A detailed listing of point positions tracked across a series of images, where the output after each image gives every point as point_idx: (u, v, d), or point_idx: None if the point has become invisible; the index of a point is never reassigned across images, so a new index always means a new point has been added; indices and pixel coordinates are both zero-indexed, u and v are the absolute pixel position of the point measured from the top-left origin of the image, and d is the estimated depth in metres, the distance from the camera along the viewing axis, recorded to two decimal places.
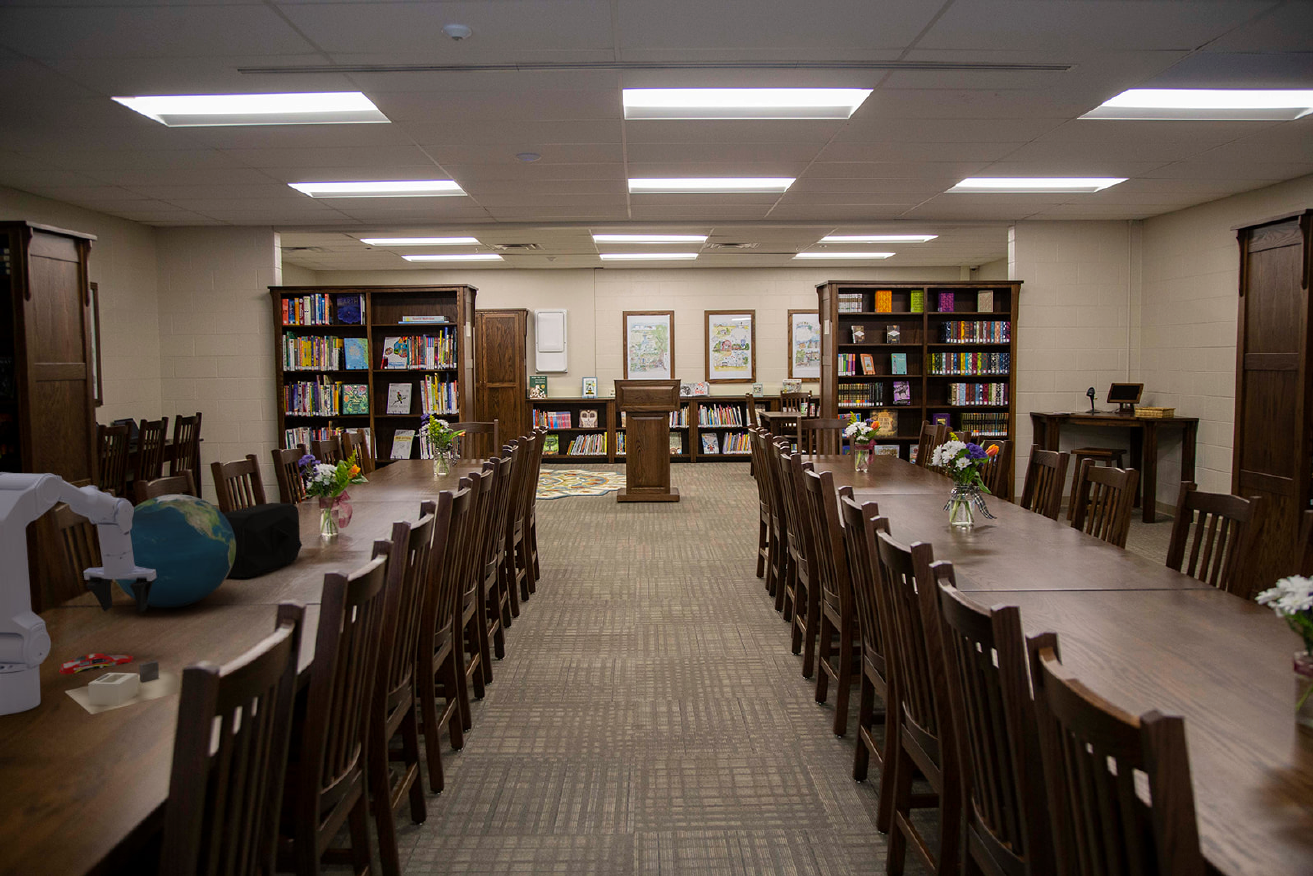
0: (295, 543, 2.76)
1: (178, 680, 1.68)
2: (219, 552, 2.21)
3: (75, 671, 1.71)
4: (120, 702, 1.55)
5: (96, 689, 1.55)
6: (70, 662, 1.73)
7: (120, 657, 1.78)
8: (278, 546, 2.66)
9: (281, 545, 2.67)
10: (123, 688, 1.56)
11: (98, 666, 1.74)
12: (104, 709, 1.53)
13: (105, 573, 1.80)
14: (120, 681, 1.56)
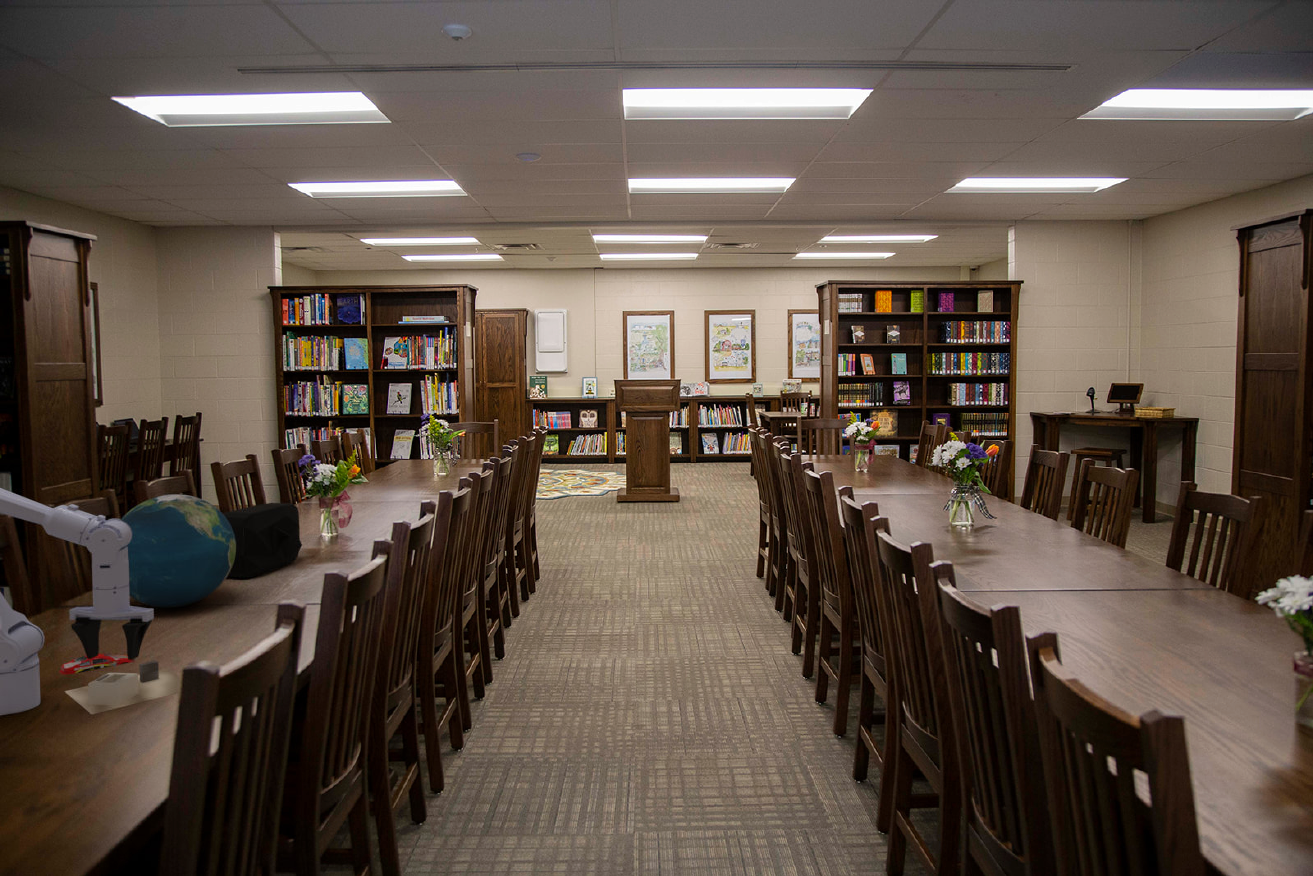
0: (295, 543, 2.76)
1: (178, 680, 1.68)
2: (219, 552, 2.21)
3: (76, 671, 1.71)
4: (120, 702, 1.55)
5: (96, 689, 1.55)
6: (70, 662, 1.73)
7: (120, 657, 1.78)
8: (278, 546, 2.66)
9: (281, 545, 2.67)
10: (123, 688, 1.56)
11: (99, 666, 1.74)
12: (104, 709, 1.53)
13: (95, 611, 1.54)
14: (120, 681, 1.56)
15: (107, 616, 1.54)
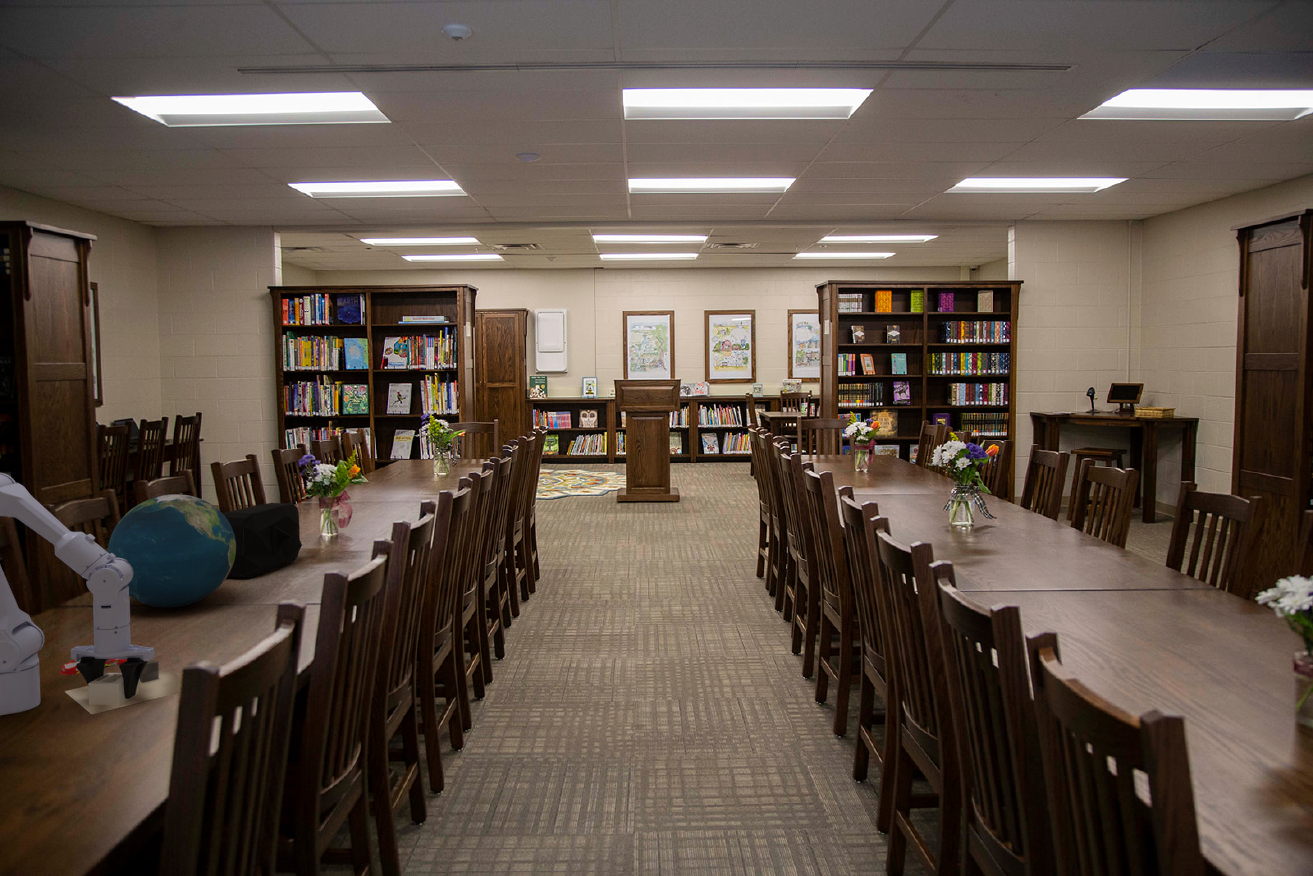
0: (295, 543, 2.76)
1: (178, 680, 1.68)
2: (219, 552, 2.21)
3: (77, 671, 1.71)
4: (120, 702, 1.55)
5: (96, 689, 1.55)
6: (71, 663, 1.72)
7: None
8: (278, 546, 2.66)
9: (281, 545, 2.67)
10: (123, 688, 1.56)
11: None
12: (104, 709, 1.53)
13: (96, 651, 1.55)
14: (120, 681, 1.56)
15: (108, 656, 1.54)
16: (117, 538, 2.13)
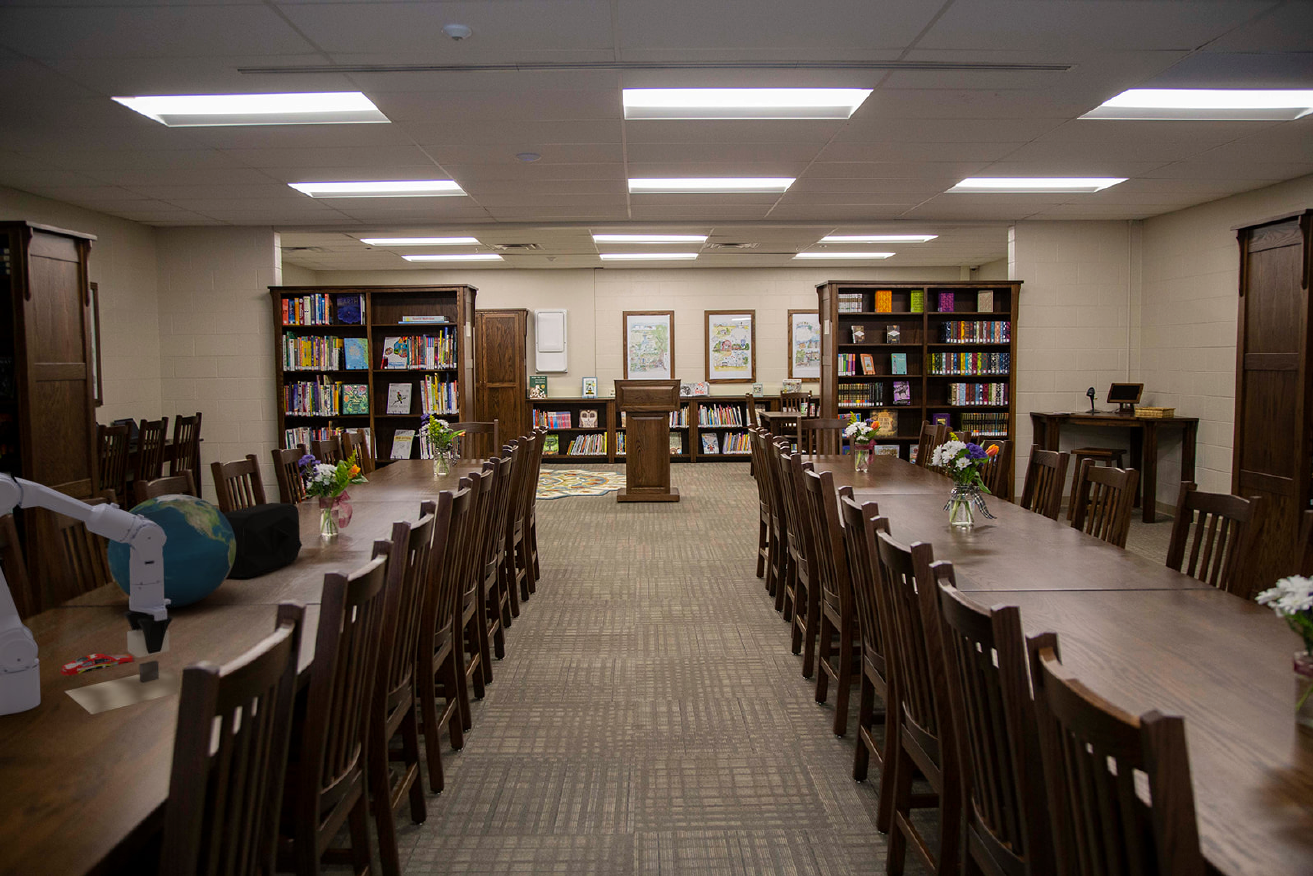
0: (295, 543, 2.76)
1: (178, 680, 1.68)
2: (219, 552, 2.21)
3: (78, 672, 1.71)
4: (140, 655, 1.64)
5: (129, 638, 1.66)
6: (71, 663, 1.72)
7: (120, 656, 1.78)
8: (278, 546, 2.66)
9: (281, 545, 2.67)
10: None
11: (101, 666, 1.74)
12: (104, 709, 1.53)
13: None
14: None
15: (133, 609, 1.64)
16: None
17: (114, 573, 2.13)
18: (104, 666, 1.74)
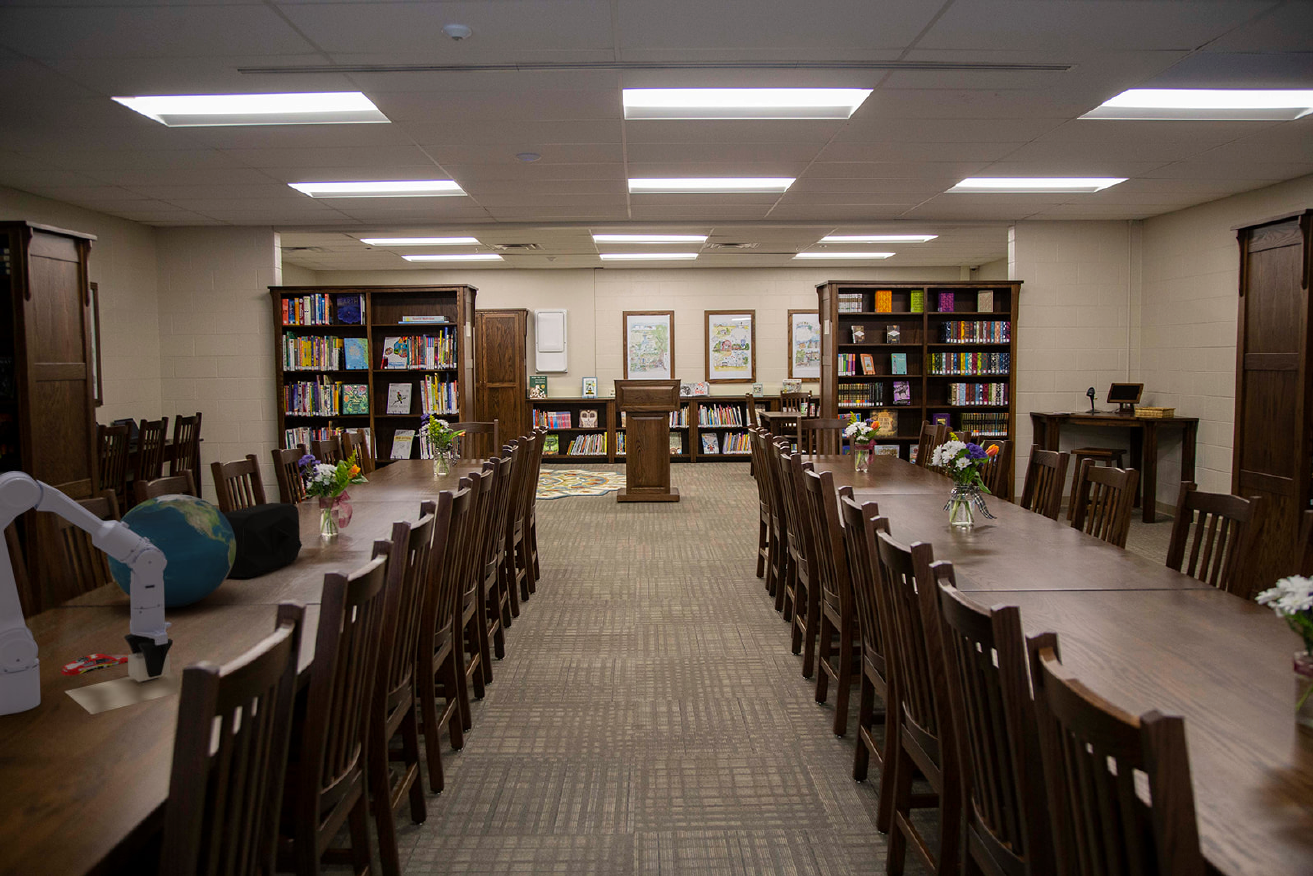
0: (295, 543, 2.76)
1: (178, 680, 1.68)
2: (219, 552, 2.21)
3: (80, 672, 1.71)
4: (140, 679, 1.64)
5: (130, 662, 1.66)
6: (72, 663, 1.72)
7: (120, 656, 1.79)
8: (278, 546, 2.66)
9: (281, 545, 2.67)
10: None
11: (102, 666, 1.74)
12: (104, 709, 1.53)
13: None
14: (144, 659, 1.65)
15: (134, 633, 1.64)
16: None
17: (114, 573, 2.13)
18: (105, 666, 1.74)
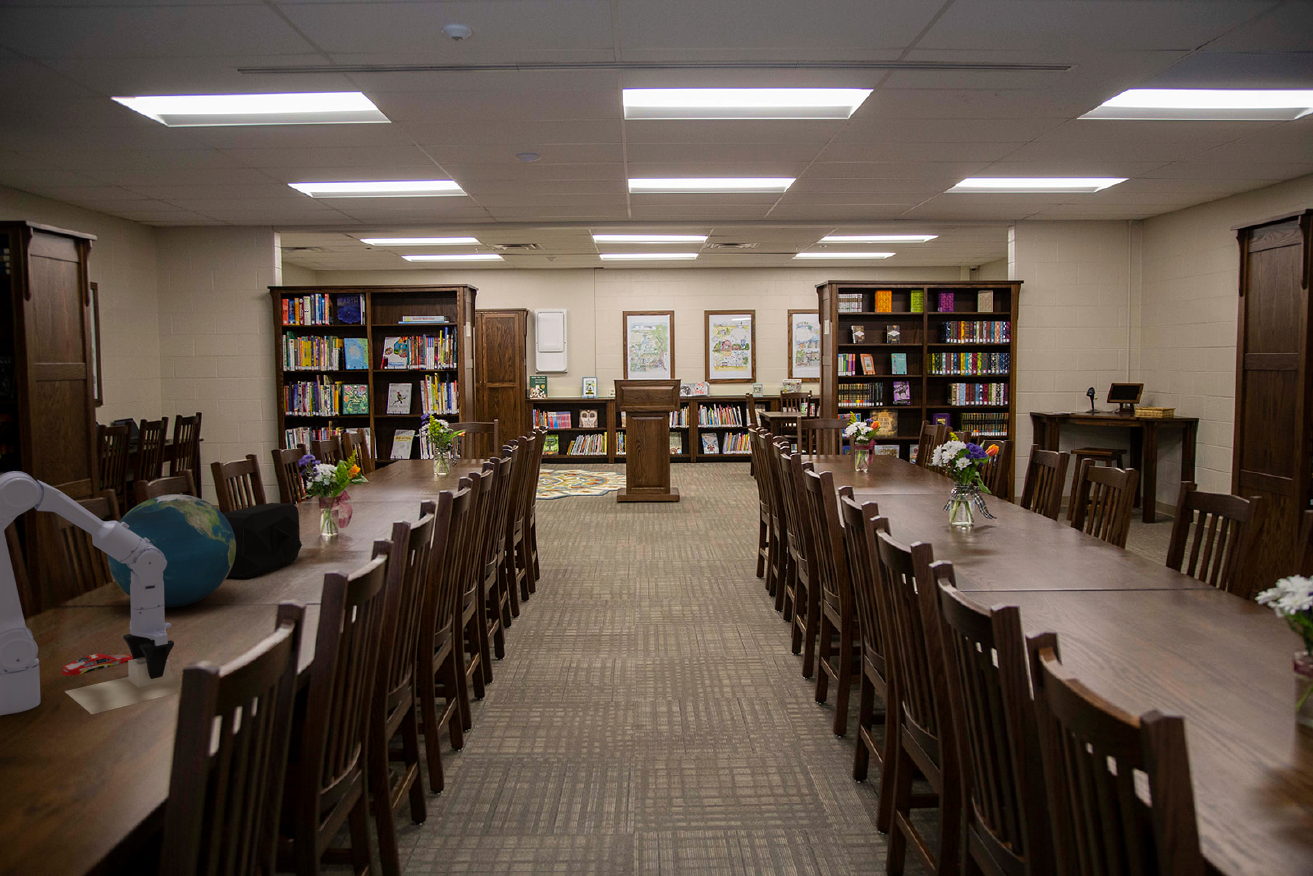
0: (295, 543, 2.76)
1: (178, 680, 1.68)
2: (219, 552, 2.21)
3: (81, 672, 1.71)
4: (140, 685, 1.64)
5: (130, 667, 1.66)
6: (72, 664, 1.72)
7: (120, 656, 1.79)
8: (278, 546, 2.66)
9: (281, 545, 2.67)
10: (146, 671, 1.65)
11: (103, 666, 1.74)
12: (104, 709, 1.53)
13: None
14: (144, 665, 1.65)
15: (134, 634, 1.64)
16: None
17: (114, 573, 2.13)
18: (106, 666, 1.74)
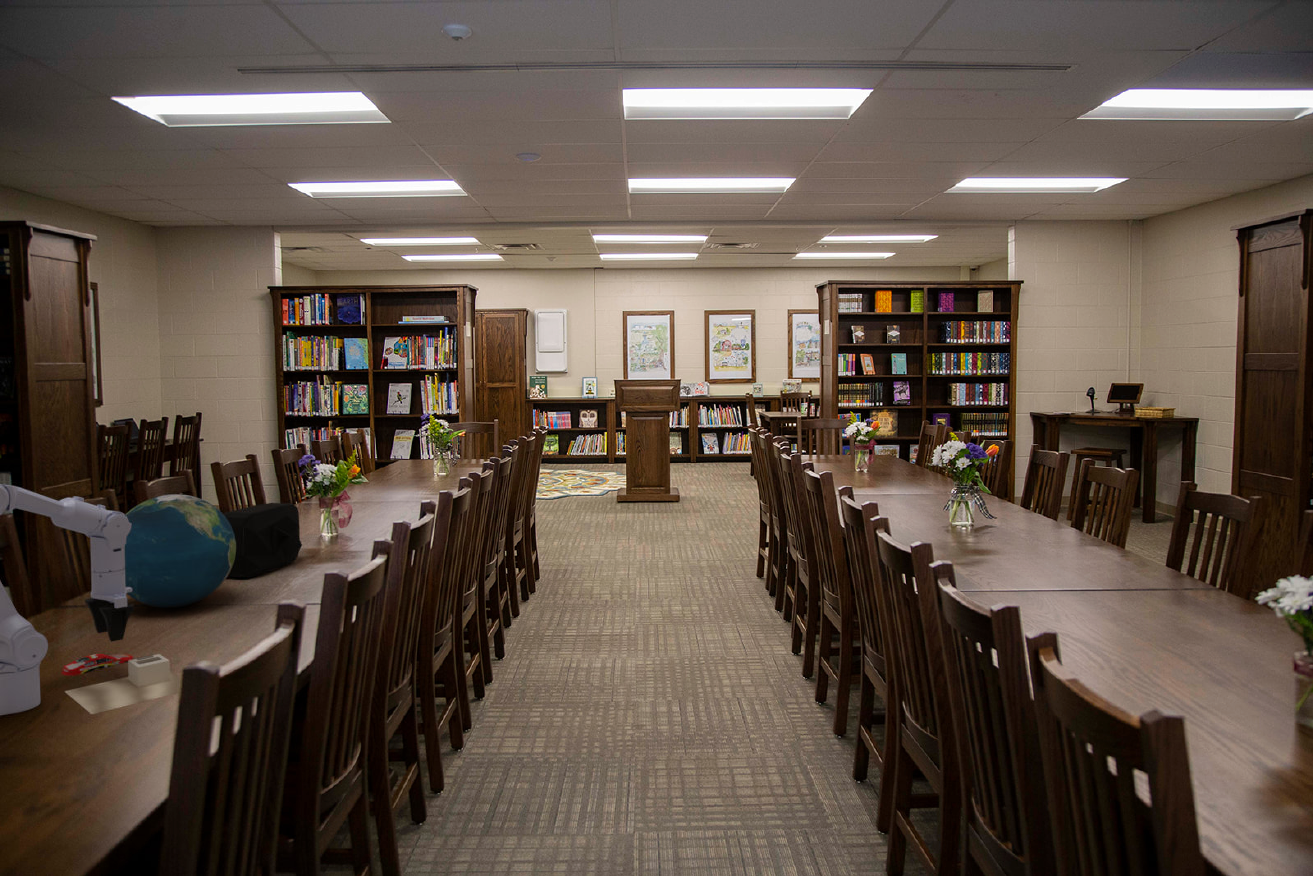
0: (295, 543, 2.76)
1: (178, 680, 1.68)
2: (219, 552, 2.21)
3: (81, 672, 1.71)
4: (140, 685, 1.64)
5: (130, 667, 1.66)
6: (72, 664, 1.72)
7: (120, 656, 1.79)
8: (278, 546, 2.66)
9: (281, 545, 2.67)
10: (146, 671, 1.65)
11: (103, 666, 1.74)
12: (104, 709, 1.53)
13: None
14: (144, 665, 1.65)
15: (94, 597, 1.67)
16: None
17: None
18: (106, 666, 1.75)
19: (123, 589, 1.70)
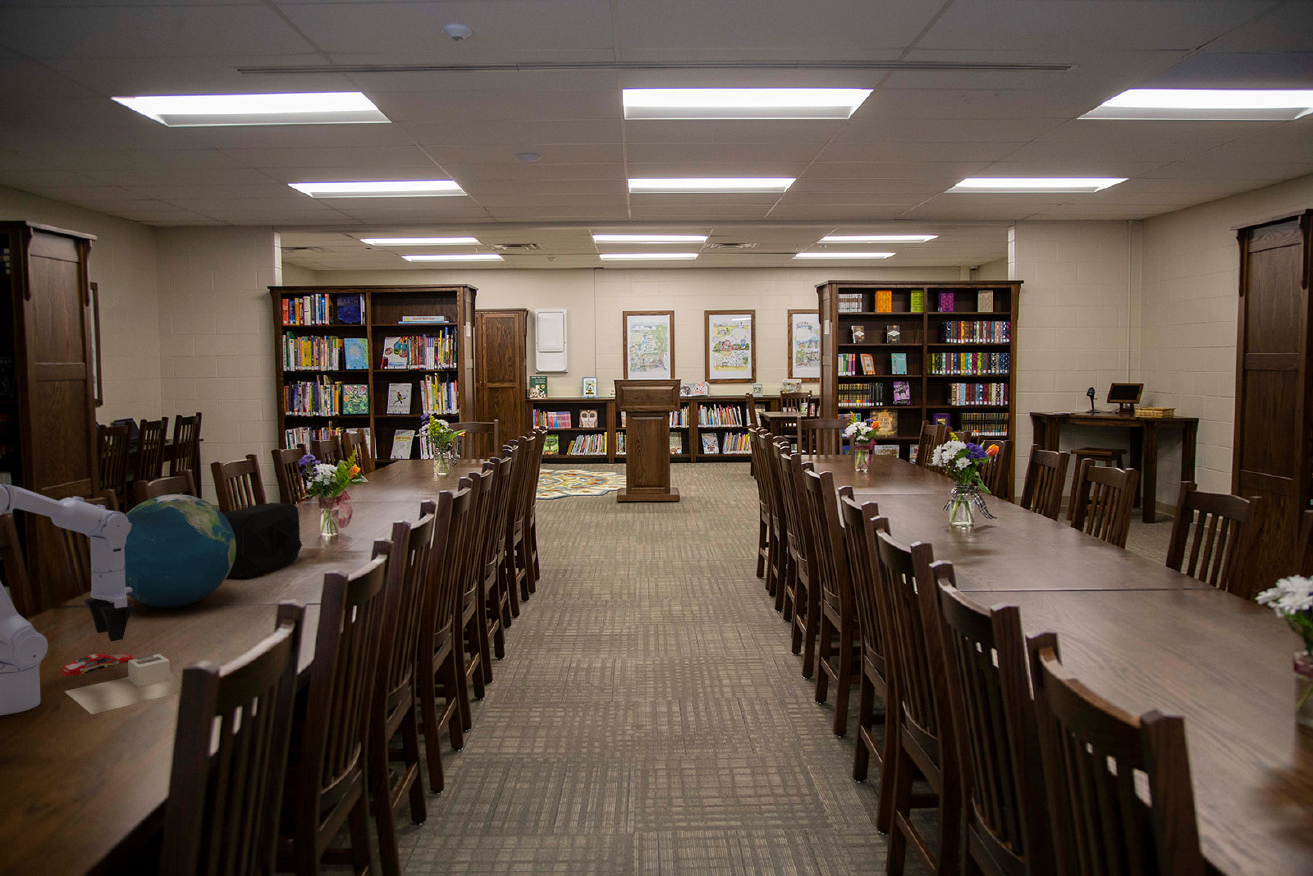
0: (295, 543, 2.76)
1: (178, 680, 1.68)
2: (219, 552, 2.21)
3: (82, 672, 1.71)
4: (140, 685, 1.64)
5: (130, 667, 1.66)
6: (73, 664, 1.72)
7: (120, 656, 1.79)
8: (278, 546, 2.66)
9: (281, 545, 2.67)
10: (146, 671, 1.65)
11: (103, 666, 1.74)
12: (104, 709, 1.53)
13: None
14: (144, 665, 1.65)
15: (94, 597, 1.67)
16: None
17: None
18: (106, 666, 1.75)
19: (123, 589, 1.70)
